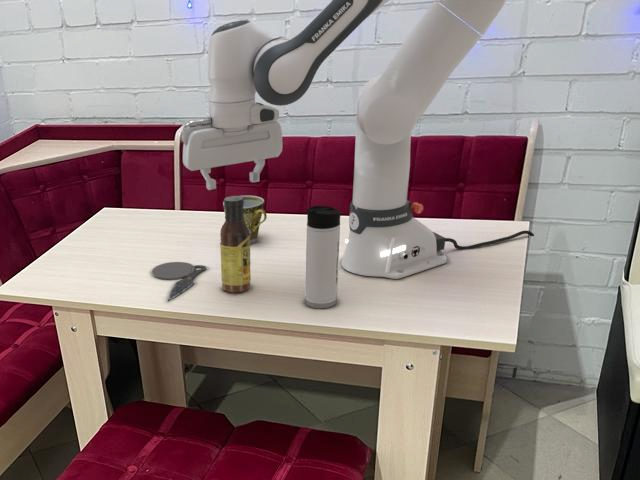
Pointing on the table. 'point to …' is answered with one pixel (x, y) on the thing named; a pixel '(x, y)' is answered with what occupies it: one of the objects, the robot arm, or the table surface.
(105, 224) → the table surface
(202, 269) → the throwing knife
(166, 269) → the round mirror
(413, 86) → the robot arm
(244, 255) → the sauce bottle
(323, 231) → the travel mug
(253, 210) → the ceramic cup
